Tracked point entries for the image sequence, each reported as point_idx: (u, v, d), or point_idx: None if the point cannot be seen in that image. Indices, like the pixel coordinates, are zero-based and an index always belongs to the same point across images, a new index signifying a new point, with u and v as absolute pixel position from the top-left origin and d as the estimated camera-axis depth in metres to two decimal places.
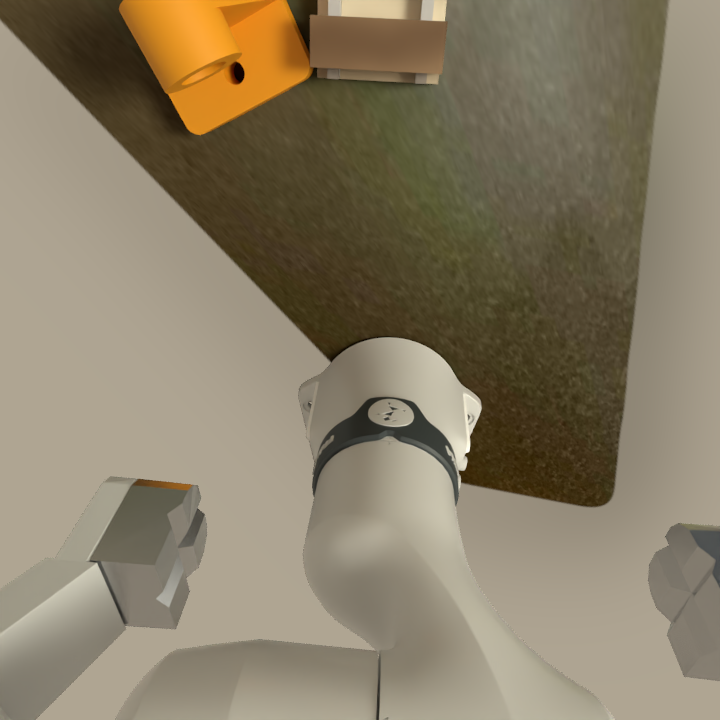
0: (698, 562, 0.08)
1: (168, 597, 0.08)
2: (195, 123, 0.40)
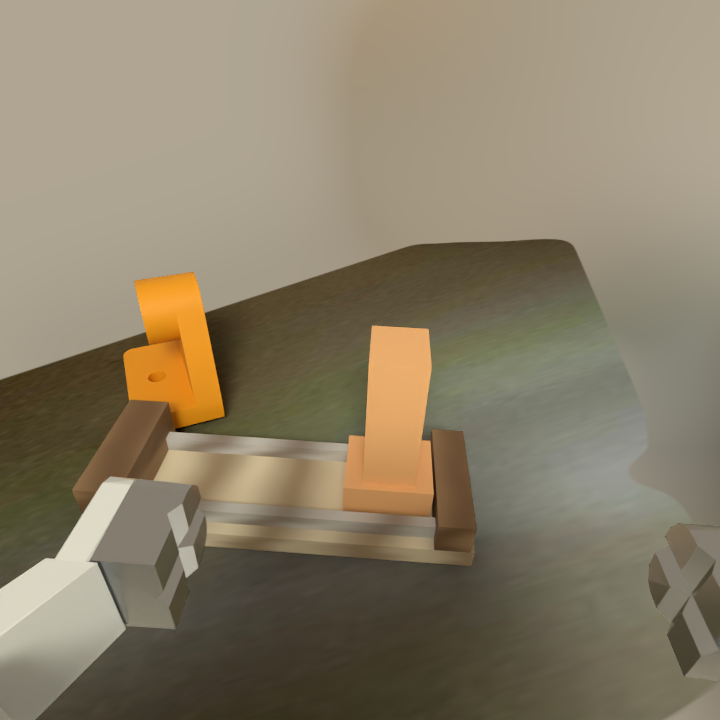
0: (698, 562, 0.08)
1: (168, 597, 0.08)
2: (132, 353, 0.50)
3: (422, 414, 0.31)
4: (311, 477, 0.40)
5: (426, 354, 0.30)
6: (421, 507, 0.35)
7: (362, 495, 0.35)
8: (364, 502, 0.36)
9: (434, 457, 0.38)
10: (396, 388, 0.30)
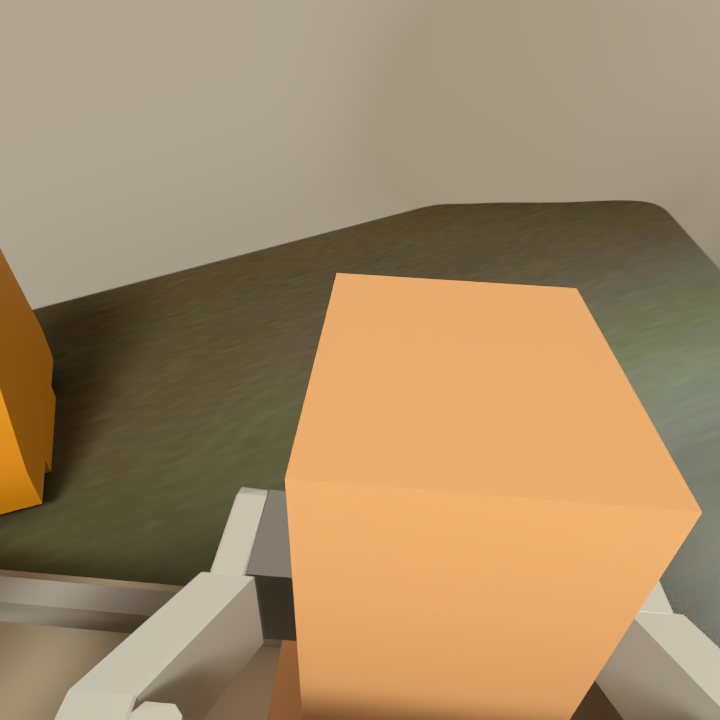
0: None
1: None
2: None
3: (571, 697, 0.06)
4: None
5: (620, 409, 0.05)
6: None
7: None
8: None
9: None
10: (451, 600, 0.05)
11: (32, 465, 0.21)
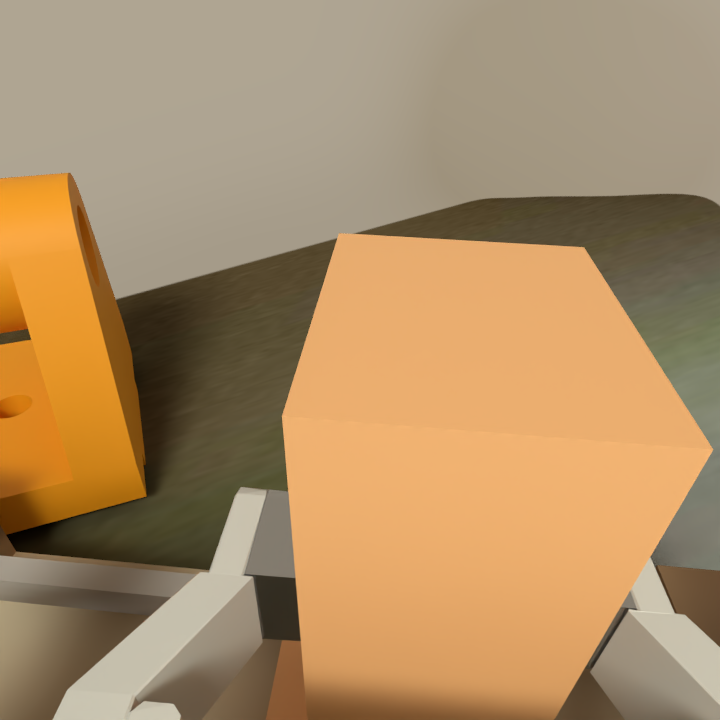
0: None
1: None
2: None
3: (577, 658, 0.06)
4: None
5: (628, 356, 0.05)
6: None
7: None
8: None
9: None
10: (454, 551, 0.05)
11: (137, 458, 0.21)
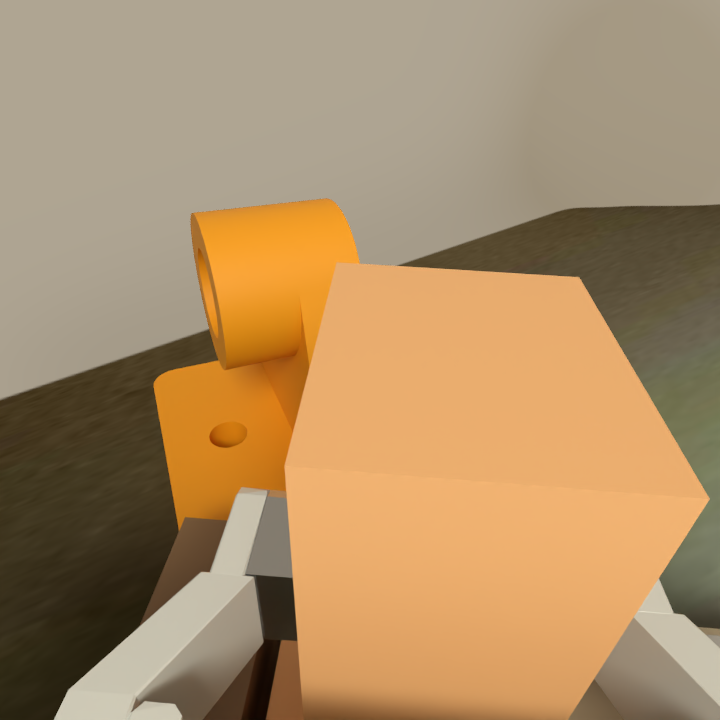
0: None
1: None
2: (172, 380, 0.25)
3: (574, 689, 0.06)
4: None
5: (625, 397, 0.05)
6: None
7: None
8: None
9: None
10: (452, 591, 0.05)
11: None
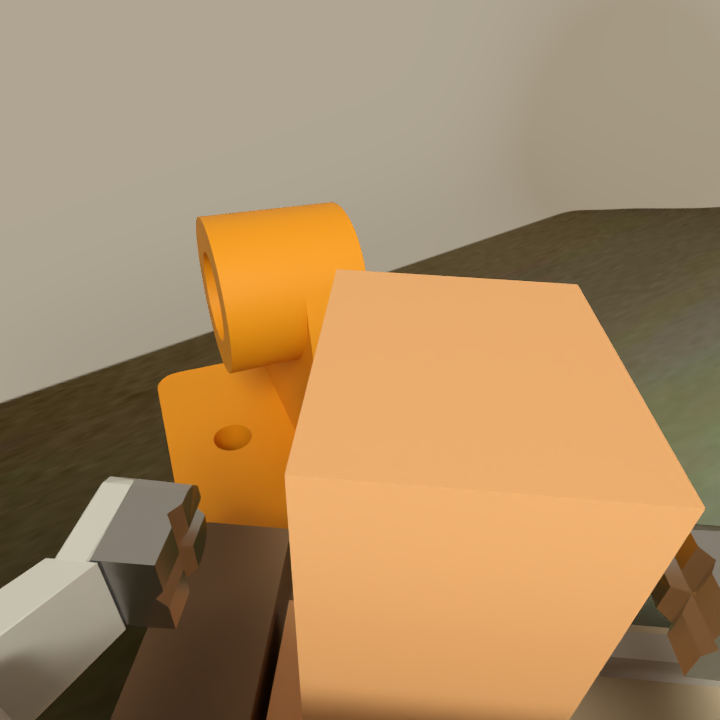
0: (698, 562, 0.08)
1: (168, 597, 0.08)
2: (176, 383, 0.25)
3: (572, 694, 0.06)
4: None
5: (622, 405, 0.05)
6: None
7: None
8: None
9: None
10: (451, 599, 0.05)
11: None
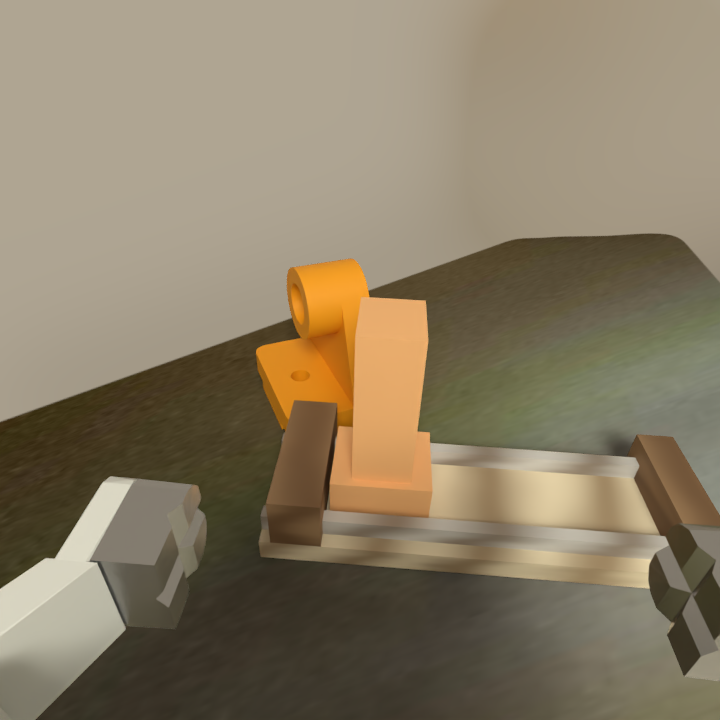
0: (698, 562, 0.08)
1: (168, 597, 0.08)
2: (265, 350, 0.45)
3: (418, 397, 0.27)
4: (505, 489, 0.35)
5: (422, 326, 0.26)
6: (418, 506, 0.31)
7: (351, 492, 0.31)
8: (353, 500, 0.31)
9: (653, 466, 0.33)
10: (387, 366, 0.26)
11: None
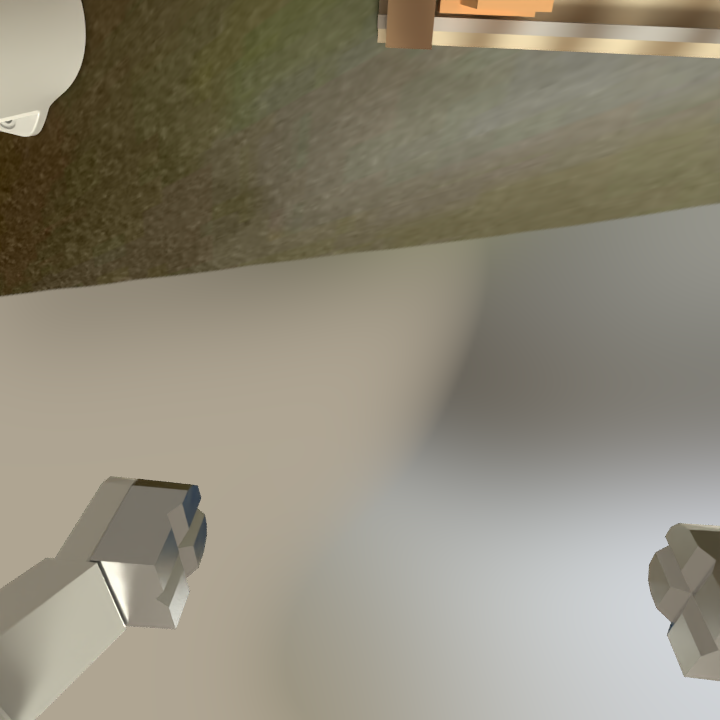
0: (698, 562, 0.08)
1: (168, 597, 0.08)
2: None
3: None
4: None
5: None
6: None
7: None
8: None
9: None
10: None
11: None
